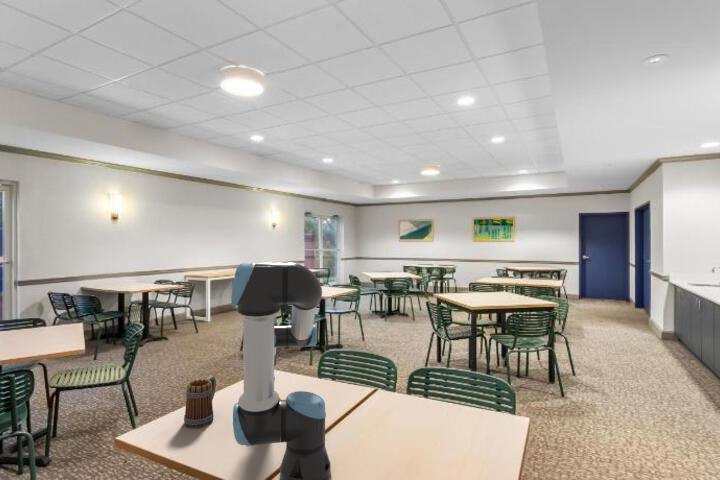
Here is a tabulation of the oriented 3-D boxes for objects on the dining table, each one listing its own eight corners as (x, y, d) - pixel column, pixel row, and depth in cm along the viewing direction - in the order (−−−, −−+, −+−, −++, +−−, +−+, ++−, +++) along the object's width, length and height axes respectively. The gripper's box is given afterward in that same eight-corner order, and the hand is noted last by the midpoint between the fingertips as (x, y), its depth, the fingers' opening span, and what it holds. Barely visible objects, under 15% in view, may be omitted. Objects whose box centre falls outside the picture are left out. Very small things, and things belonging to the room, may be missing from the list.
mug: (203, 429, 147) (203, 389, 147) (177, 426, 149) (178, 386, 149) (225, 411, 162) (226, 375, 162) (202, 409, 164) (202, 373, 164)
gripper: (283, 361, 145) (283, 424, 145) (268, 348, 161) (267, 406, 161) (263, 364, 142) (262, 429, 142) (249, 351, 158) (249, 409, 158)
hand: (265, 416), depth 152 cm, fingers closed on plug, 5 cm apart
